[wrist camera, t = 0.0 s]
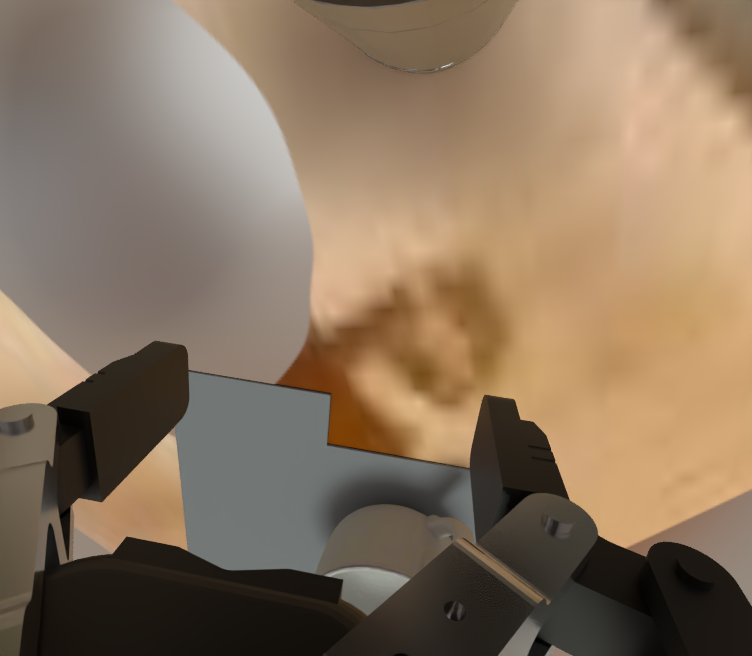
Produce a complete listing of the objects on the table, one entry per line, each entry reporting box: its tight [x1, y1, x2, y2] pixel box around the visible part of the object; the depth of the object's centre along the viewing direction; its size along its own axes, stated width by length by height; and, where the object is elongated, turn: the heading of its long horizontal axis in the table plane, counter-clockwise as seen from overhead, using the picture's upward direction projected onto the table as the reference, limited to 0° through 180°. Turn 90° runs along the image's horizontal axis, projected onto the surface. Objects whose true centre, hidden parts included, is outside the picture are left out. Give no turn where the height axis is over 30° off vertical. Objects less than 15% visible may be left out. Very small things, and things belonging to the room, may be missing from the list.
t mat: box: [175, 370, 476, 574], centre depth 38 cm, size 22×25×1 cm
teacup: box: [315, 504, 475, 616], centre depth 34 cm, size 14×11×8 cm
